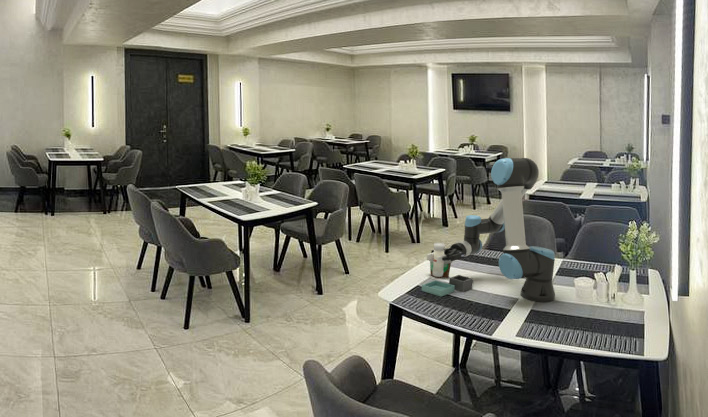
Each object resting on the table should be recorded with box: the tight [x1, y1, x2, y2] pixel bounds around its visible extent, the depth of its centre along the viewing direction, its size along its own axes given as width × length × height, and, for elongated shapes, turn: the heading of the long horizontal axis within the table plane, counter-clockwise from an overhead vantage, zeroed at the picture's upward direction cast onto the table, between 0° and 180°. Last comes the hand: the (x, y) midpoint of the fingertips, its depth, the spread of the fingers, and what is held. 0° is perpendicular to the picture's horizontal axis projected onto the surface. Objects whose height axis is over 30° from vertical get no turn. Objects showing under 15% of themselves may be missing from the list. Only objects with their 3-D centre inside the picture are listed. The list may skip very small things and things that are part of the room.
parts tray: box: [421, 279, 456, 297], centre depth 275 cm, size 11×11×3 cm
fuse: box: [432, 242, 446, 277], centre depth 273 cm, size 5×5×15 cm
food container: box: [428, 259, 453, 279], centre depth 296 cm, size 12×6×10 cm, turn 62°
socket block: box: [448, 274, 474, 293], centre depth 280 cm, size 8×8×5 cm
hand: (432, 258), depth 269 cm, fingers closed on fuse, 5 cm apart
